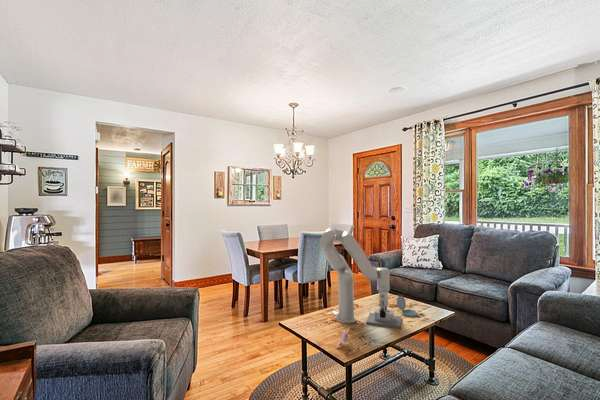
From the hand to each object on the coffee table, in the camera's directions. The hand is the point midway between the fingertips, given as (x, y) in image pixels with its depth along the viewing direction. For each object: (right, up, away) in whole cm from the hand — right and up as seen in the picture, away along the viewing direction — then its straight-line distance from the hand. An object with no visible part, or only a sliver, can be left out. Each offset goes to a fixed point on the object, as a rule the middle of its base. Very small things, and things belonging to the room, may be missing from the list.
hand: (383, 314), depth 182 cm
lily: (-29, -4, -31) cm, 43 cm away
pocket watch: (+21, -4, +11) cm, 24 cm away
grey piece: (+1, -4, 0) cm, 4 cm away
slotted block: (0, -3, 0) cm, 3 cm away
